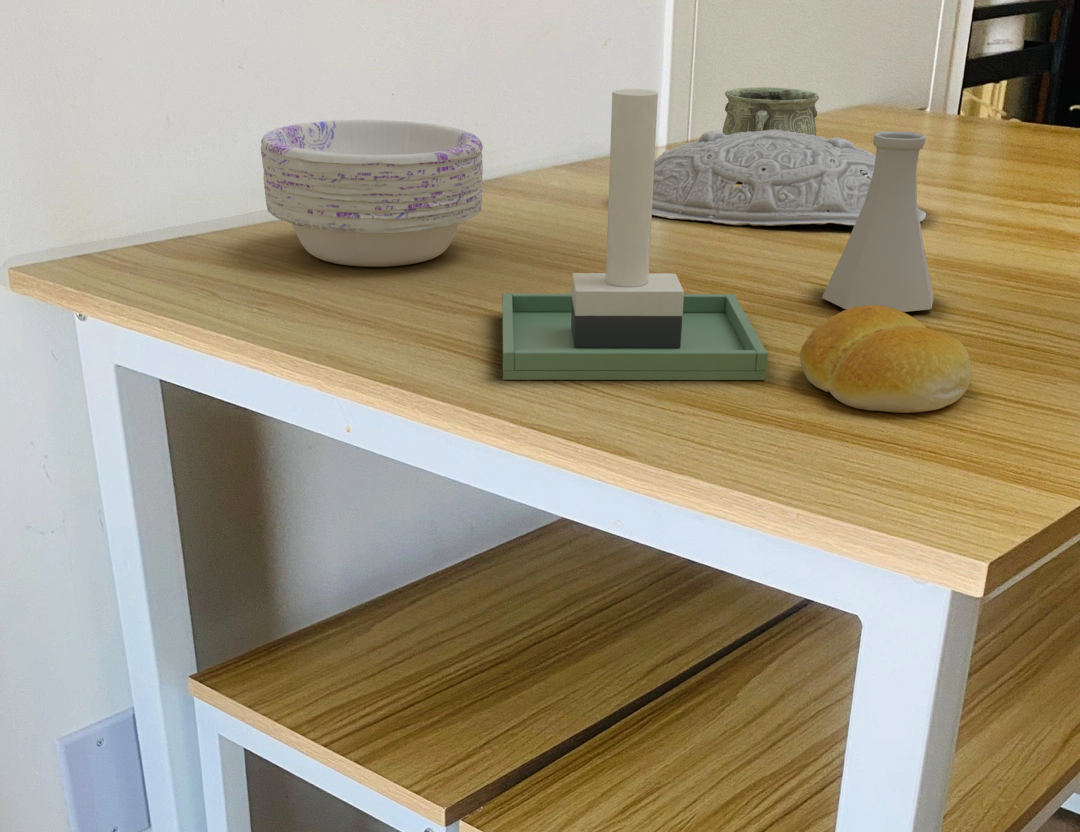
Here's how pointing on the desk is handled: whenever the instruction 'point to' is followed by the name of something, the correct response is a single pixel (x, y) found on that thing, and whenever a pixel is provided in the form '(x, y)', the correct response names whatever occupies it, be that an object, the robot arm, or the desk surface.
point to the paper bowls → (372, 187)
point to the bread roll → (885, 361)
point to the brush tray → (705, 353)
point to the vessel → (770, 110)
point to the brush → (629, 245)
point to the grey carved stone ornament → (763, 179)
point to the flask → (886, 235)
